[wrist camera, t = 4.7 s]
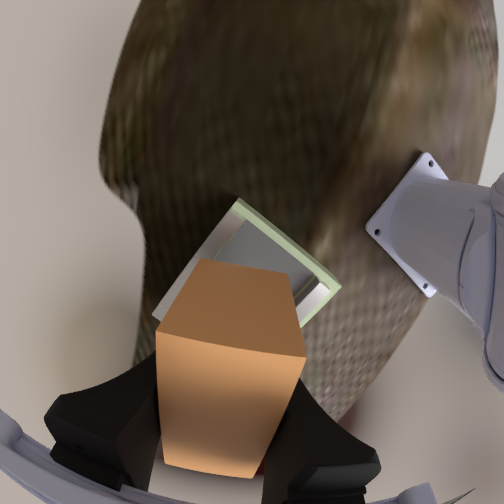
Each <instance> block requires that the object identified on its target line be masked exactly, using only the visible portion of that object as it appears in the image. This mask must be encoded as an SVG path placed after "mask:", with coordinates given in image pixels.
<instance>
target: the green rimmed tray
mask: <svg viewBox="0 0 504 504" xmlns="http://www.w3.org/2000/svg"><path fill="white" fill-rule="evenodd" d="M200 258H204V259H210V260H215V261H220V262H226V263H231V264H237V265H242V266H248V267H253V268H259V269H264V270H270V271H276V272H281V273H287V274H288V278H289V282H290V286H291V290H292V295H293V299H294V303H295V307H296V312H297V316H298V320H299V325H300V328H301V327H302V326H303V325H304V324H306V323H307V322H308V321H309V320H310V319H311V318H312V317H313V316H314V315H315V314H316V313H317V312H318V311H319V310H320V309H321V308H322V307H323V306H324V305H325V304H326V303H327V302H328V301H329V300H330V299H331V298H332V296H333V295H334V294H335V293H336V292H337V291H338V290H339V289H340V288H341V287H342V286H341V285H340V283H339V281H338V280H337V278H336V277H335V275H334V274H332V273H331V272H330V271H329V270H328V269H326V268H325V267H324V266H323V265H322V264H321V263H319V262H318V261H317V260H316V259H315V258H313V257H312V256H311V255H310V254H309V253H307V252H306V251H305V250H304V249H303V248H301V247H300V246H299V245H298V244H297V243H295V242H294V241H293V240H292V239H290V238H289V237H288V236H287V235H286V234H284V233H283V232H282V231H281V230H279V229H278V228H277V227H276V226H275V225H273V224H272V223H271V222H270V221H268V220H267V219H266V218H265V217H263V216H262V215H261V214H260V213H258V212H257V211H256V210H255V209H253V208H252V207H251V206H249V205H248V204H247V203H246V202H244V201H243V200H242V199H241V198H238V199H237V201H236V202H235V203H234V204H233V206H232V207H231V208H230V209H229V211H228V212H227V213H226V214H225V216H224V217H223V218H222V220H221V221H220V222H219V223H218V225H217V226H216V227H215V229H214V230H213V231H212V232H211V234H210V235H209V236H208V238H207V239H206V240H205V242H204V243H203V244H202V246H201V247H200V248H199V250H198V251H197V252H196V253H195V255H194V256H193V258H192V259H191V260H190V262H189V263H188V264H187V266H186V267H185V268H184V270H183V271H182V272H181V274H180V275H179V276H178V278H177V279H176V281H175V282H174V283H173V285H172V286H171V287H170V289H169V290H168V292H167V293H166V294H165V296H164V297H163V299H162V300H161V301H160V303H159V304H158V306H157V307H156V309H155V310H154V312H153V313H152V315H153V316H154V317H155V318H157V319H158V320H160V321H162V320H163V318H164V316H165V315H166V313H167V311H168V310H169V308H170V306H171V305H172V303H173V302H174V300H175V298H176V297H177V295H178V293H179V292H180V290H181V288H182V287H183V285H184V284H185V282H186V280H187V279H188V277H189V276H190V274H191V272H192V271H193V269H194V268H195V266H196V265H197V263H198V261H199V260H200Z"/></svg>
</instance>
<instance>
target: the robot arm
mask: <svg viewBox="0 0 504 504" xmlns="http://www.w3.org/2000/svg"><path fill="white" fill-rule="evenodd" d="M429 161H430V162H431V166H429ZM365 228H366V231H367V232H368V233H369V234H370V235H371V236H372V237H373V238H374V239H375V240H376V241H377V243H378V244H379V245H380V246H381V247H382V248H383V249H384V250H385V251H386V252H387V253H388V254H389V255H390V256H391V257H392V258H393V259H394V260H395V261H396V263H397V264H398V265H399V266H400V267H401V268H402V269H403V270H404V271H405V272H406V274H407V275H408V276H409V277H410V278H411V279H412V280H413V281H414V283H415V284H416V285H417V286H418V287H419V288H420V290H421V291H422V292H423V293H424V294H425V295H426V296H427V297H431V296H432V295H434V293H435V292H436V291H439V292H440V293H441V294H442V295H443V296H445V297H446V298H447V299H448V300H449V301H450V302H451V303H452V304H454V305H455V306H456V307H457V308H458V309H459V310H460V311H461V312H463V313H464V314H465V315H466V316H467V317H468V318H469V319H470V320H472V321H473V330H474V331H475V332H476V333H477V334H478V335H479V336H480V337H481V338H482V339H483V340H484V345H483V350H482V362H483V367H484V370H485V373H486V375H487V377H488V379H489V380H490V381H491V383H492V384H493V385H494V386H495V387H496V388H497V389H498V390H499V391H501V392H503V393H504V173H502V174H501V175H500V177H499V178H498V180H497V181H496V182H495V183H494V184H493V185H492V186H491V188H490V187H485V186H480V185H475V184H470V183H464V182H458V181H452V180H449V179H448V178H447V177H446V175H445V174H444V172H443V171H442V170H441V168H440V167H439V166H438V164H437V163H436V162H435V160H434V159H433V158H432V156H431V155H430V154H429V153H427V152H424V153H422V154H421V155H420V156H419V158H418V159H417V160H416V162H415V163H414V164H413V166H412V167H411V168H410V170H409V171H408V172H407V174H406V175H405V176H404V177H403V179H402V180H401V181H400V183H399V184H398V185H397V186H396V188H395V189H394V190H393V192H392V193H391V194H390V195H389V197H388V198H387V199H386V200H385V201H384V203H383V204H382V205H381V206H380V208H379V209H378V210H377V211H376V212H375V214H374V215H373V216H372V217H371V218H370V220H369V221H368V222H367V224H366V227H365ZM376 229H378V230H379V232H378V234H377V235H375V230H376ZM425 283H426V285H425V286H424V284H425ZM423 286H424V287H423ZM44 421H45V424H46V426H47V428H48V429H49V431H50V433H51V434H52V436H53V437H54V439H55V441H56V443H55V445H54V447H53V449H52V450H50V449H49V448H47V447H45V446H44V445H42V444H40V443H39V442H37V441H36V440H34V439H33V438H31V437H30V436H28V435H27V434H25V433H24V432H23V431H22V429H21V427H20V426H19V425H18V423H17V422H16V421H15V420H14V419H12V418H11V417H10V416H8V415H7V414H5V413H4V412H3V411H2V410H1V409H0V469H1V470H2V471H3V472H4V473H6V474H7V475H8V476H9V477H11V478H12V479H13V480H14V481H16V482H17V483H18V484H19V485H21V486H22V487H24V488H25V489H26V490H28V491H29V492H31V493H32V494H33V495H35V496H36V497H38V498H39V499H41V500H42V501H44V502H46V503H47V504H194V503H189V502H184V501H179V500H175V499H171V498H167V497H163V496H159V495H156V494H152V493H149V492H148V487H149V482H150V477H151V472H152V468H153V463H154V459H155V455H156V451H157V447H158V443H159V439H160V435H161V426H160V416H159V403H158V388H157V366H156V350H155V351H154V352H153V353H152V354H150V355H149V356H148V357H147V358H145V359H144V360H143V361H141V362H140V363H139V364H137V365H136V366H134V367H133V368H131V369H130V370H128V371H126V372H125V373H123V374H121V375H119V376H118V377H116V378H114V379H111V380H109V381H107V382H105V383H103V384H100V385H98V386H95V387H92V388H89V389H85V390H82V391H78V392H73V393H68V394H63V395H60V396H59V397H58V398H57V399H56V400H55V401H54V403H53V404H52V406H51V407H50V409H49V410H48V411H47V413H46V414H45V416H44ZM380 471H381V465H380V461H379V458H378V455H377V453H376V450H375V449H374V448H372V447H370V446H368V445H367V444H365V443H363V442H361V441H360V440H358V439H357V438H355V437H354V436H352V435H351V434H350V433H348V432H347V431H346V430H344V429H343V428H342V427H341V426H340V425H338V424H337V423H336V422H335V421H334V420H333V419H332V418H331V417H330V416H329V415H328V414H327V413H326V412H325V411H324V410H323V409H322V408H321V407H320V406H319V405H318V403H317V402H316V401H315V400H314V398H313V397H312V395H311V394H310V393H309V391H308V390H307V388H306V387H305V385H304V384H303V382H302V381H301V379H300V377H299V379H298V381H297V384H296V386H295V389H294V391H293V394H292V396H291V398H290V401H289V403H288V405H287V408H286V410H285V412H284V414H283V417H282V419H281V421H280V423H279V425H278V428H277V430H276V432H275V434H274V436H273V438H272V440H271V442H270V444H269V447H268V449H267V451H266V457H265V472H264V484H263V494H262V502H261V504H365V500H364V495H363V494H366V487H365V485H367V484H368V483H369V482H370V481H371V480H372V479H374V478H375V477H376V476H377V475H378V474H379V473H380ZM367 504H437V503H436V500H435V497H434V494H433V491H432V489H431V486H430V483H429V482H427V483H424V484H421V485H418V486H414V487H411V488H409V489H407V490H405V491H403V492H402V493H400V494H399V495H398V496H397V497H393V498H389V499H385V500H381V501H376V502H372V503H367Z"/></svg>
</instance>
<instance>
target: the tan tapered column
mask: <svg viewBox="0 0 504 504" xmlns="http://www.w3.org/2000/svg"><path fill="white" fill-rule="evenodd" d="M306 358H307V356H306V352H305V347H304V343H303V338H302V334H301V329H300V325H299V320H298V316H297V312H296V307H295V303H294V299H293V295H292V290H291V286H290V282H289V278H288V274H287V273H281V272H276V271H270V270H264V269H259V268H253V267H248V266H242V265H237V264H231V263H226V262H220V261H215V260H210V259H204V258H200V260H199V261H198V263H197V265H196V266H195V268H194V269H193V271H192V272H191V274H190V276H189V277H188V279H187V280H186V282H185V284H184V285H183V287H182V288H181V290H180V292H179V293H178V295H177V297H176V298H175V300H174V302H173V303H172V305H171V306H170V308H169V310H168V311H167V313H166V315H165V316H164V318H163V320H162V321H161V323H160V325H159V327H158V328H157V330H156V366H157V388H158V403H159V416H160V426H161V435H162V444H163V452H164V459H165V464H169V465H173V466H177V467H182V468H187V469H191V470H196V471H201V472H206V473H212V474H219V475H226V476H234V477H243V478H253V476H254V474H255V472H256V470H257V468H258V466H259V464H260V462H261V461H262V459H263V457H264V454H265V453H266V451H267V449H268V447H269V444H270V442H271V440H272V438H273V436H274V434H275V432H276V430H277V428H278V425H279V423H280V421H281V419H282V417H283V414H284V412H285V410H286V408H287V405H288V403H289V401H290V398H291V396H292V394H293V391H294V389H295V386H296V384H297V381H298V379H299V376H300V374H301V371H302V369H303V366H304V364H305V361H306Z"/></svg>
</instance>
